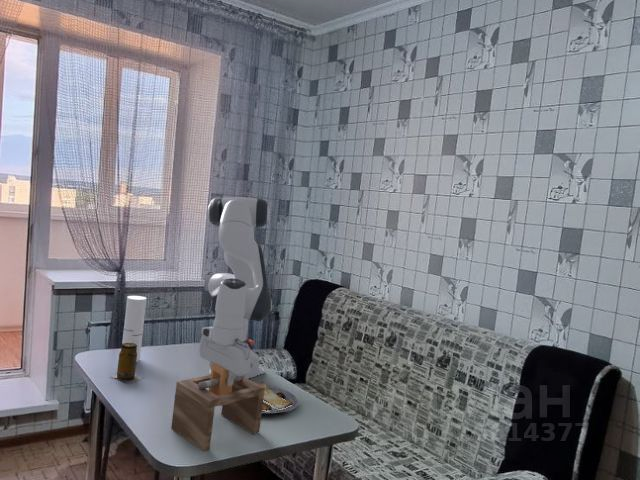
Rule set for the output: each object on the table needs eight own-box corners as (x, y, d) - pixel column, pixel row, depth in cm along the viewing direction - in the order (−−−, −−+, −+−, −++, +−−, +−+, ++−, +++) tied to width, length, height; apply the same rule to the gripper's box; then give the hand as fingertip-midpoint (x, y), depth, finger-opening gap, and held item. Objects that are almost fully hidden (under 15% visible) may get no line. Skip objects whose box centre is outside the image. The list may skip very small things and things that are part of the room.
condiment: (126, 372, 184) (130, 340, 184) (143, 378, 181) (147, 346, 180) (110, 377, 178) (114, 344, 177) (127, 383, 174) (131, 350, 173)
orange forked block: (218, 396, 151) (223, 361, 150) (230, 403, 147) (234, 366, 146) (207, 399, 148) (212, 363, 147) (218, 406, 144) (223, 368, 143)
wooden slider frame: (226, 413, 161) (232, 364, 160) (259, 432, 150) (265, 381, 149) (171, 428, 146) (177, 374, 145) (203, 451, 135) (210, 393, 134)
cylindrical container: (123, 356, 201) (130, 295, 200) (141, 357, 202) (148, 296, 200) (118, 361, 194) (125, 298, 192) (137, 363, 195) (144, 300, 193)
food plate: (214, 392, 176) (216, 383, 176) (270, 386, 190) (272, 377, 190) (249, 424, 156) (251, 413, 156) (308, 414, 171) (310, 404, 170)
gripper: (258, 343, 142) (252, 391, 142) (215, 325, 155) (210, 368, 156) (241, 346, 137) (235, 395, 138) (198, 327, 150) (192, 371, 151)
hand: (221, 381), depth 147 cm, fingers closed on orange forked block, 5 cm apart
